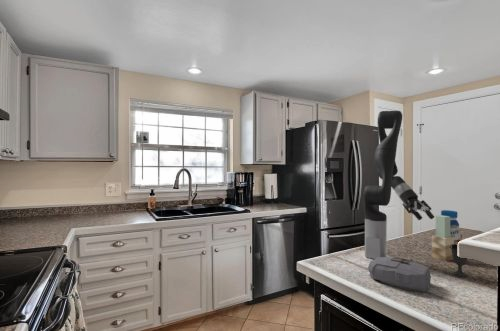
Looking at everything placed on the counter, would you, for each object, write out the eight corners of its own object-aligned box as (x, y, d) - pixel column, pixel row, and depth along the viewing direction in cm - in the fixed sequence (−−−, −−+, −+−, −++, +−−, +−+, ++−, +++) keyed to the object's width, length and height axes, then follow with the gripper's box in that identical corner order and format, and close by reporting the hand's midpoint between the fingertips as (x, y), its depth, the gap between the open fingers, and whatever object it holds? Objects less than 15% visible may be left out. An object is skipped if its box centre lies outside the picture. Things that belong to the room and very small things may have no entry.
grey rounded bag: (433, 283, 96) (374, 269, 109) (433, 259, 96) (374, 248, 109) (426, 297, 84) (361, 280, 97) (426, 271, 84) (362, 257, 97)
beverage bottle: (458, 249, 137) (458, 210, 138) (460, 253, 130) (460, 212, 130) (438, 246, 142) (438, 209, 142) (439, 250, 135) (439, 211, 135)
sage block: (450, 237, 122) (450, 216, 122) (444, 238, 120) (444, 217, 121) (441, 235, 126) (441, 215, 126) (435, 236, 124) (435, 215, 124)
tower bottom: (453, 259, 121) (453, 248, 121) (445, 261, 119) (445, 250, 119) (440, 255, 127) (440, 245, 127) (431, 257, 125) (431, 246, 125)
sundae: (466, 272, 106) (466, 234, 106) (474, 278, 99) (474, 238, 100) (446, 270, 108) (446, 233, 108) (453, 276, 101) (453, 237, 102)
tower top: (453, 248, 121) (453, 237, 121) (445, 250, 119) (445, 238, 119) (440, 245, 127) (440, 234, 127) (431, 246, 125) (431, 235, 125)
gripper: (400, 189, 136) (422, 215, 125) (419, 188, 141) (442, 213, 130) (391, 198, 141) (411, 224, 130) (410, 197, 146) (431, 222, 135)
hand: (426, 218), depth 130 cm, fingers open, 8 cm apart
